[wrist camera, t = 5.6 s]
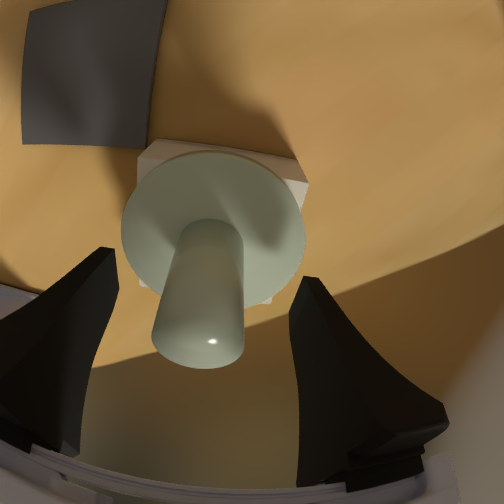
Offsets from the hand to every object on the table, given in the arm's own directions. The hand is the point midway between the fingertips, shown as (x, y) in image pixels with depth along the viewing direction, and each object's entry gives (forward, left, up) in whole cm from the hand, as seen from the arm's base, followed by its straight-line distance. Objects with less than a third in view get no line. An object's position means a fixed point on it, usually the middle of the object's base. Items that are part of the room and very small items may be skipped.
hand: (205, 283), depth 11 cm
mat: (-8, +7, -6) cm, 12 cm away
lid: (0, 0, -3) cm, 3 cm away
